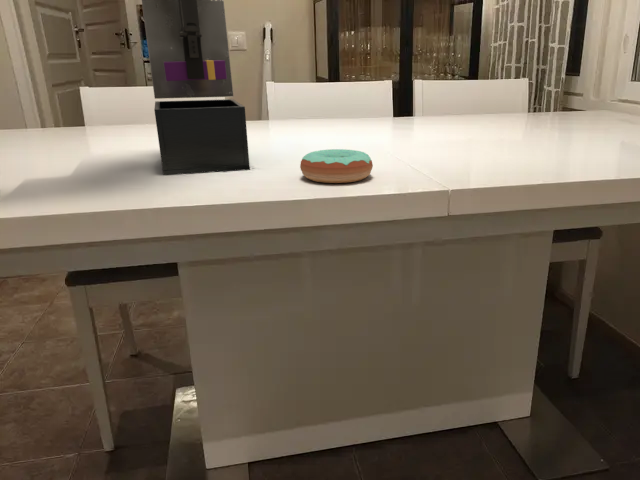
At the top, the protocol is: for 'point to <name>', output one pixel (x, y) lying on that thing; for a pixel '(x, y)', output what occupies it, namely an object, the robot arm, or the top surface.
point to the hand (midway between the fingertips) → (195, 77)
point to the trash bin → (202, 136)
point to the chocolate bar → (211, 67)
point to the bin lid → (169, 48)
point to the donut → (336, 166)
